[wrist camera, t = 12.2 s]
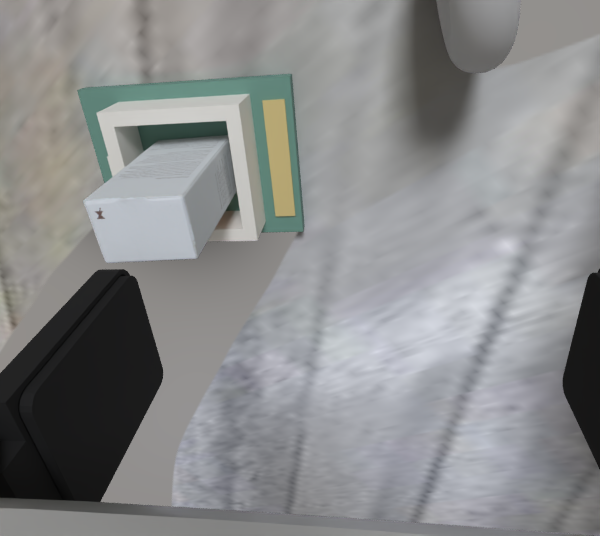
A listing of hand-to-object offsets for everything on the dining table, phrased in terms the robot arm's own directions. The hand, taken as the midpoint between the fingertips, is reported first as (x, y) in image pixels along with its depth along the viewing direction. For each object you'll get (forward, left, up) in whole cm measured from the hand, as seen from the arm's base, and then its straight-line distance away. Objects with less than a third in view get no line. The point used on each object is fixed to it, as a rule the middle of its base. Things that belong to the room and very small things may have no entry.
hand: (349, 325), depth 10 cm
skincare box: (+13, +5, -27) cm, 31 cm away
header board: (+13, +5, -28) cm, 31 cm away
